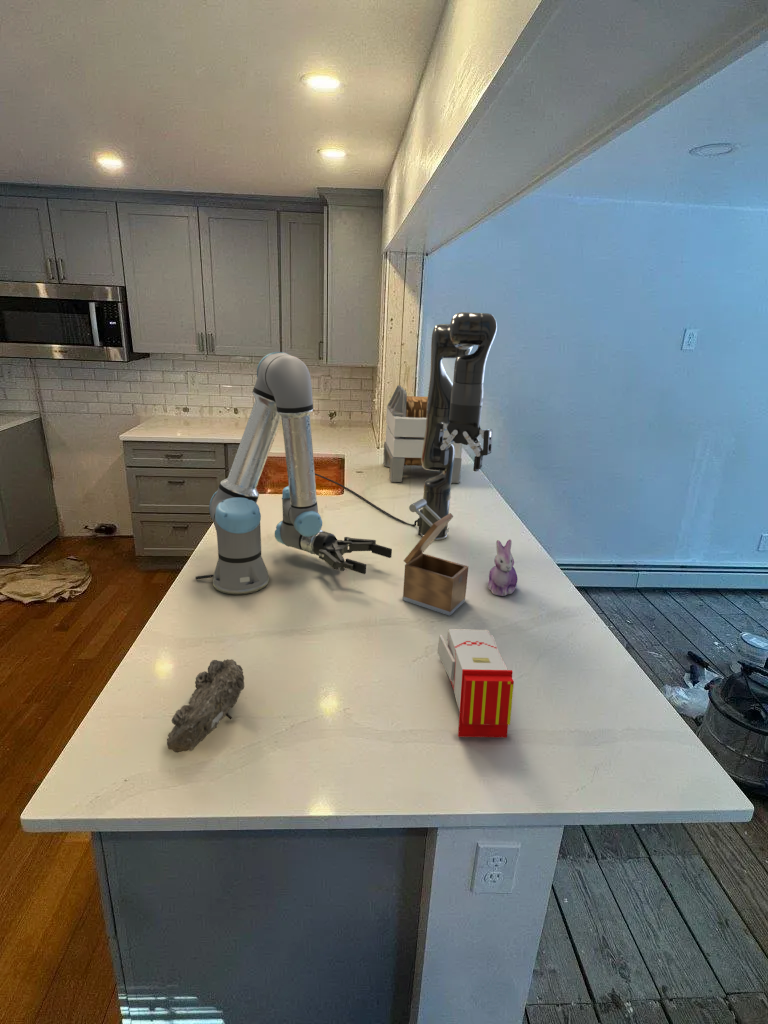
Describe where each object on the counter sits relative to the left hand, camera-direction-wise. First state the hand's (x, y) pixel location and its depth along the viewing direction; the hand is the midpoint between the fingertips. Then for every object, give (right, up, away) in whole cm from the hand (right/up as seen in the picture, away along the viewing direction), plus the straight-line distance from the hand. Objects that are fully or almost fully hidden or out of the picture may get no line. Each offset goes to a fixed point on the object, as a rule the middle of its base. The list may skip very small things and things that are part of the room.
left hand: (378, 561), depth 161 cm
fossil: (-31, -25, -53) cm, 67 cm away
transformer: (+19, +33, +113) cm, 120 cm away
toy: (+19, -24, -43) cm, 53 cm away
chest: (+15, -10, -6) cm, 19 cm away
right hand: (+20, +25, -21) cm, 39 cm away
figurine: (+35, -8, +1) cm, 36 cm away
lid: (+14, +7, -11) cm, 19 cm away
